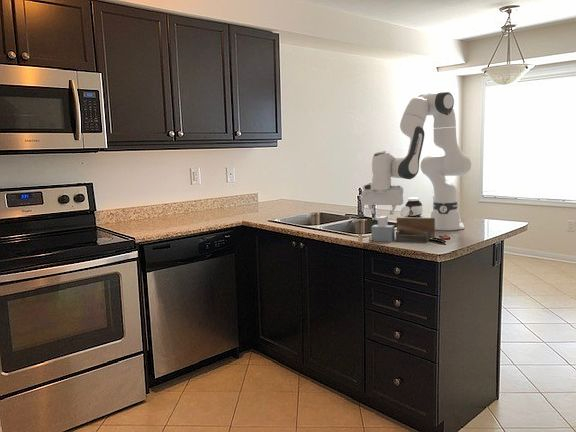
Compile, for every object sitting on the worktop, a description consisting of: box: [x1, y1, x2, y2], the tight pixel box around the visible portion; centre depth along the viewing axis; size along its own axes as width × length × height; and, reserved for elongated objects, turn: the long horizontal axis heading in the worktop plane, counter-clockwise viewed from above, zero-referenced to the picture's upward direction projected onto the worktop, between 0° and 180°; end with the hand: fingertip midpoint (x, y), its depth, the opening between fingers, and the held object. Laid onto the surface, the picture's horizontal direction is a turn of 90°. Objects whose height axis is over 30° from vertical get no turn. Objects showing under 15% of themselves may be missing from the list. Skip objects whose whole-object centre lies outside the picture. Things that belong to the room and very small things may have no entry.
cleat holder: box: [395, 216, 436, 243], centre depth 224 cm, size 10×18×10 cm, turn 62°
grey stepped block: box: [370, 215, 396, 242], centre depth 228 cm, size 6×10×12 cm, turn 62°
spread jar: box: [399, 197, 423, 218], centre depth 292 cm, size 12×11×12 cm
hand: (382, 214), depth 226 cm, fingers open, 8 cm apart
